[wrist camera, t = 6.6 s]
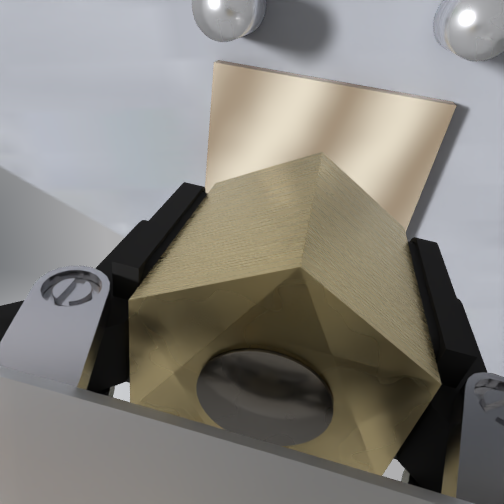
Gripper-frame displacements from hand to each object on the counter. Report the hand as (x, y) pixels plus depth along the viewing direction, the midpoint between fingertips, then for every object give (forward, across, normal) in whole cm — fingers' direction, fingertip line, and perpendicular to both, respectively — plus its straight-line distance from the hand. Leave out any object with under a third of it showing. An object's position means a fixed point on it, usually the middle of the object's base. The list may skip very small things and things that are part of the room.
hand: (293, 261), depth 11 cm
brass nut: (+1, 0, 0) cm, 1 cm away
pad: (+17, 0, +5) cm, 18 cm away
